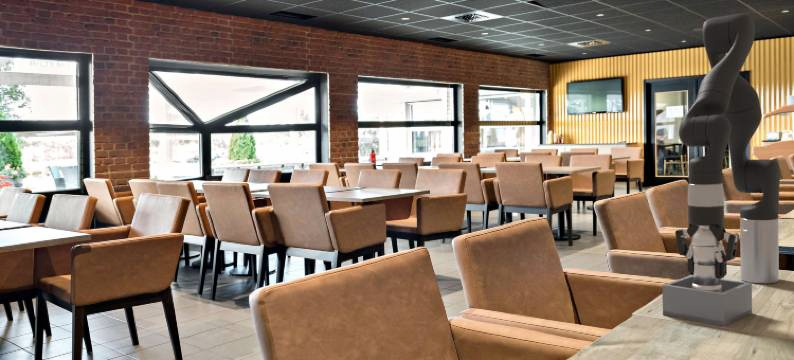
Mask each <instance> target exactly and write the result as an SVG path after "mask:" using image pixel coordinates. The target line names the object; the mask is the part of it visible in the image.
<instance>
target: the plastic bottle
mask: <svg viewBox="0 0 794 360" xmlns="http://www.w3.org/2000/svg"><path fill="white" fill-rule="evenodd" d="M697 226H698V229H697V230H696V232H695V233H696V234H695V233H694V234H695V235H694V234H693V236H692V238H690V244H691V245H692V252H693V262H694V274H693V283H692V289H699V290H705V291H712V292H719V293H722V292H723V290H722V285H721V279H719V278H717V262H718V261H717V258H716V253H714V247H715V245H716V246H717V248H721V247H722V244H723V240H722V241H721V240H720V241H717V239H716V237H715V236H714V234H713V233H712V232H711V231H710V230H709V227H710V226H699V225H697ZM708 234H710V235H711V237H710V236H709V235H708ZM720 252H721V251H720Z"/></svg>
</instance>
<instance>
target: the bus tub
mask: <svg viewBox="0 0 794 360" xmlns="http://www.w3.org/2000/svg"><path fill="white" fill-rule="evenodd" d="M692 283H693V275H690V274H689V275H688V276H685V277H682V278H680V279H679V278H678V279H676V280H673V281H670V282H667V283H664V284H662V291H661V292H662V315H663V316H667V317H672V318H678V319H682V320H689V321H694V322H698V323H704V324H709V325H716V326H719V327H725V326H729V325H730V324H732V323H735V322H737V321H739V320H741V319H743V318H745V317H748V316H749V315H751V314H753V298H752V297H753V289H752V287H753V283H752V282H747V281H739V280H731V279H725V278H722V279H721V285H722V290H723V292H722V293H719V292H712V291H705V290H699V289H692Z"/></svg>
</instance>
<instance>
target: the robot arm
mask: <svg viewBox="0 0 794 360" xmlns="http://www.w3.org/2000/svg"><path fill="white" fill-rule="evenodd" d="M701 34H702V41H703V45H704V49H705V53H706V56H707V59H708V64H709V65H710V68H711V69H710V70H709V71H708V72H707V73H706V75H705V76H704V77H703V79H702V80H701V82H700V84H699V85H700V86H699V88H698V92H697V96H696V99H695V101H694V103H693V104H692V105H691V107H690V109H689V110H688V111H687V112H686V114H685V115H684V117H683V118H682V120H681V122H680V124H679V128H678V129H679V130H678V136H679V140H680V142H681V143H682V145H684V146H686V147H691V148H692V147H693V148H696V147H697V148H698V147H701V148H702V147H710V150H709V152H708V153H707V154H706V155H703V156H698V157H697V156H696V157H694V158H691V159H690V160H689V161H688V189H687V200H686V201H687V222H688V227H687V228H686V229H683V228H681V229H677V230H675V232H674V234H675V238H676V244H677V250H678V254H679V255H680V256H684V257H686V259H687V271H688V273H689V276H690V275H693V274H694V262H693V252H692V245H691V243H690V244H689V245H688V240H687V239H688V236H689V238H690V239H691V238H692V236H693V234H694V233H695V232H696V230H697V229H698V226H697V225H699V226H710V227H709V230H710V231H711V232H712V233H713V234H714V236H715V237H716V239H717V241H720V240H721V241H722V242H723V240H724V239H725V242H726V243H727V245H726V251H725V246H724V245H723V243H722V247H721V248H717V246H716V245H715V247H714V253H716V258H717V261H718V262H717V278H719V279H725V277H726V276H727V273H728V272H727V270H728V269H727V268H728V266H727V264H728V261H729V262H730V261H731V260H735V259H736V257H737V251H738V245H739V241H740V247H739V248H740V253H739V254H740V280H741V281H742V282H748V283H752V284H753V283H754V284H775V283H778V282H779V281H780V279H779V278H780V276H779V270H780V269H779V267H780V266H779V263H780V262H779V258H780V257H779V256H780V255H779V247H780V245H779V243H780V242H779V207H780V183H781V168H780V166H779V165H780V164H779V163H778V161H777V160H775V159H769V158H768V159H766V158H765V159H763V158H762V159H749V158H748V156H747V148H748V145H749V143H750V141H751V140H752V138H753V136H754V135H755V133H756V131H757V130H758V128H759V126H760V125H761V121H762V118H763V117H762V116H763V114H762V109H761V103H760V97H759V94H758V92H757V91H756V88H754V87H753V86H752V85H751V83H750V82H748V80H746V78H744V76H742V75H741V74H740V72H741V70H742V68H743V66H744V64H745V63H746V60H747V57H748V56H749V54H750V52H751V50H752V47H753V45H754V41H755V37H756V28H755V22H754V19H753V17H752V16H751V15H750V14H749V13H745V12H744V13H735V14H730V15H729V14H728V15H723V16H715V17H712V18H709V19H706V20H705V21H704V22H703V26H702V33H701ZM727 146H728V149H729V157H730V165H731V166H730V167H731V173H732V179H733V180H732V181H733V184H734V186H735V189H736V190H737V191H738V192H740V193H743V194H762V196H761V199H760V200H758V201H757V202H754V203H752V204H749V205H745V206H743V207H741V208H740V210H739V226H740V227H739V228H740V229H739V231H740V232H739V233H740V235H739V233H737V232H736V233H731V232H727V230H726V229H725V227H724V226H725V191H724V184H723V182H724V181H723V165H724V164H723V163H724V159H725V153H726V150H727ZM695 234H696V233H695ZM695 234H694V235H695ZM708 235H709V236H710V237H711V235H710V234H708ZM720 251H721V252H720Z"/></svg>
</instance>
